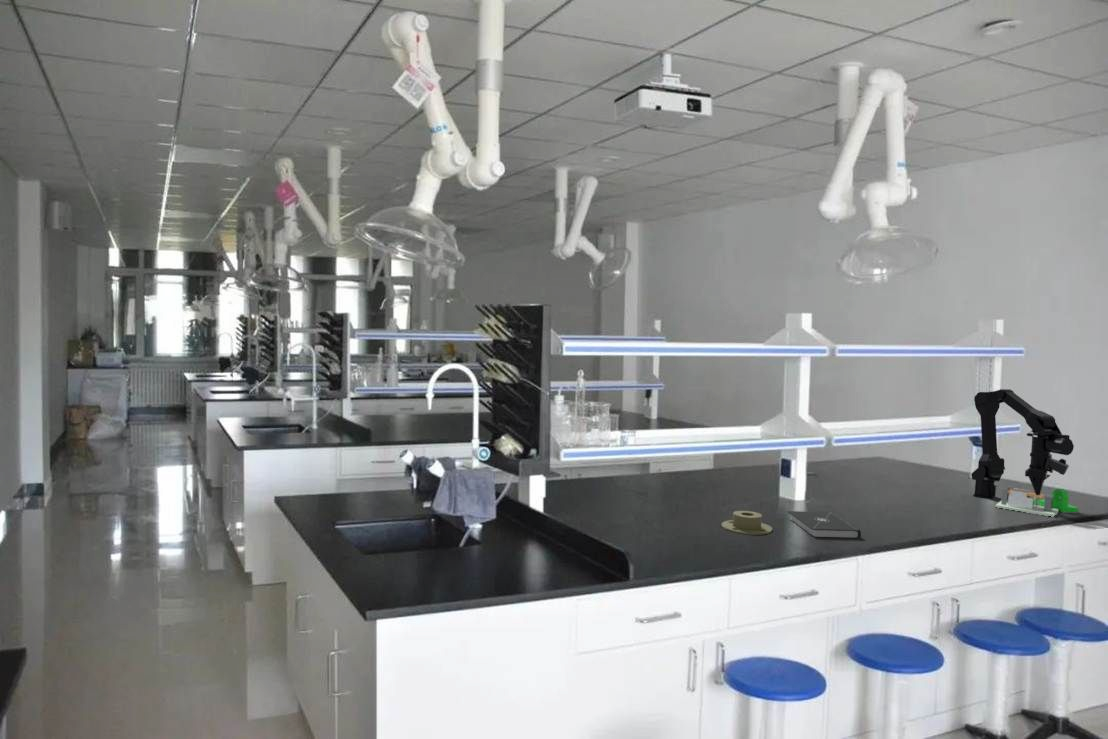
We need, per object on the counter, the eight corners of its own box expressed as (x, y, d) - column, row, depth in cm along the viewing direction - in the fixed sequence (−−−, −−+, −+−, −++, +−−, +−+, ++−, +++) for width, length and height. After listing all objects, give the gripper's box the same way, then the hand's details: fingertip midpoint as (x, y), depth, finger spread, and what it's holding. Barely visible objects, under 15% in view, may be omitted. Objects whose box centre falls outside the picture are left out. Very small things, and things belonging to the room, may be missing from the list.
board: (995, 507, 292) (995, 505, 291) (1001, 502, 301) (1001, 499, 301) (1053, 517, 280) (1054, 514, 280) (1058, 511, 290) (1059, 508, 290)
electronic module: (1000, 504, 293) (1001, 489, 292) (1004, 501, 298) (1005, 486, 298) (1049, 512, 283) (1051, 496, 283) (1052, 509, 289) (1054, 493, 288)
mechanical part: (1077, 513, 289) (1079, 491, 288) (1062, 513, 288) (1064, 490, 288) (1053, 505, 301) (1055, 483, 300) (1038, 505, 300) (1039, 483, 300)
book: (860, 540, 243) (861, 530, 243) (811, 539, 242) (812, 529, 242) (831, 521, 265) (832, 512, 264) (786, 520, 264) (787, 510, 263)
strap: (1003, 493, 294) (1003, 489, 294) (1004, 491, 296) (1005, 488, 296) (1043, 498, 286) (1044, 495, 286) (1045, 497, 288) (1045, 494, 288)
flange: (742, 505, 260) (712, 512, 250) (782, 516, 249) (753, 523, 239) (741, 520, 260) (711, 527, 250) (782, 531, 249) (752, 538, 239)
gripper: (1064, 456, 275) (1061, 502, 276) (1071, 450, 290) (1068, 494, 291) (1026, 452, 282) (1023, 497, 283) (1034, 446, 297) (1032, 489, 298)
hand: (1037, 494), depth 288 cm, fingers closed, pressing on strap
